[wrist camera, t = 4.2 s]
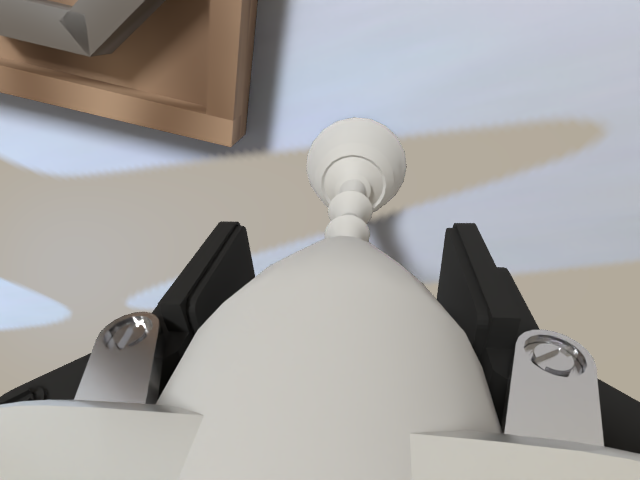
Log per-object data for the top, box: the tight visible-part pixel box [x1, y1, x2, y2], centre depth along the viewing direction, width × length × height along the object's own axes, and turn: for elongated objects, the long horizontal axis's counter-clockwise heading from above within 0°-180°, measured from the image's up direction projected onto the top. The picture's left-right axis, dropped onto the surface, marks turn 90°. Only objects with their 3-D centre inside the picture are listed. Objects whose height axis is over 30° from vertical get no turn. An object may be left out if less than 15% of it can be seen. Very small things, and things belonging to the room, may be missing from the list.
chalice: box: [155, 117, 502, 480], centre depth 11 cm, size 7×7×18 cm
